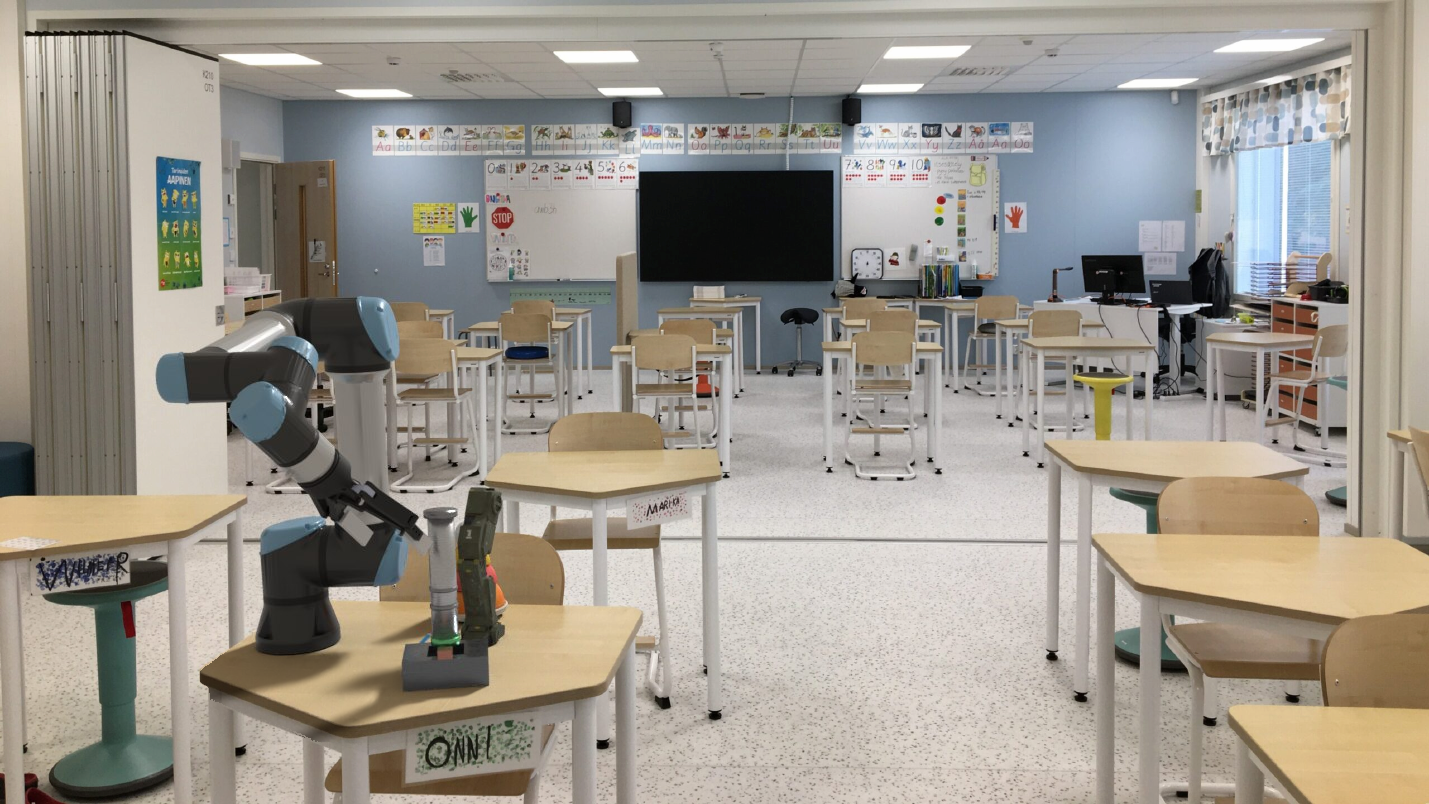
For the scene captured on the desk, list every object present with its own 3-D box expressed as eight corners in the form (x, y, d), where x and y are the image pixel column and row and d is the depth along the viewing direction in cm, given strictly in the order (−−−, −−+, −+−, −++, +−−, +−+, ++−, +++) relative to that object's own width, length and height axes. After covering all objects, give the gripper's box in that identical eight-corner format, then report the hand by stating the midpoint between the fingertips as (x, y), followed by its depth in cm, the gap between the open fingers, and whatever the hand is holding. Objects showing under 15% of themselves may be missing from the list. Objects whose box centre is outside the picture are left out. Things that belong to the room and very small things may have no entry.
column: (429, 639, 198) (423, 507, 196) (462, 637, 200) (457, 506, 197) (428, 649, 193) (422, 514, 190) (462, 647, 194) (457, 512, 192)
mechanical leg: (479, 653, 207) (489, 485, 211) (442, 651, 209) (452, 484, 212) (508, 647, 221) (517, 490, 224) (472, 645, 222) (482, 489, 226)
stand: (406, 672, 200) (405, 635, 200) (488, 665, 203) (487, 629, 202) (402, 692, 191) (401, 653, 190) (489, 685, 193) (487, 647, 193)
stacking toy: (522, 611, 236) (519, 517, 234) (473, 630, 224) (469, 531, 222) (471, 602, 244) (468, 511, 241) (421, 619, 232) (417, 523, 229)
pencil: (432, 635, 222) (432, 632, 222) (404, 665, 205) (404, 661, 205) (428, 635, 222) (428, 632, 222) (400, 665, 205) (400, 661, 205)
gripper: (247, 478, 176) (332, 554, 191) (359, 492, 163) (441, 573, 177) (275, 439, 180) (356, 516, 194) (387, 450, 167) (464, 532, 181)
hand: (397, 543), depth 186 cm, fingers open, 13 cm apart
